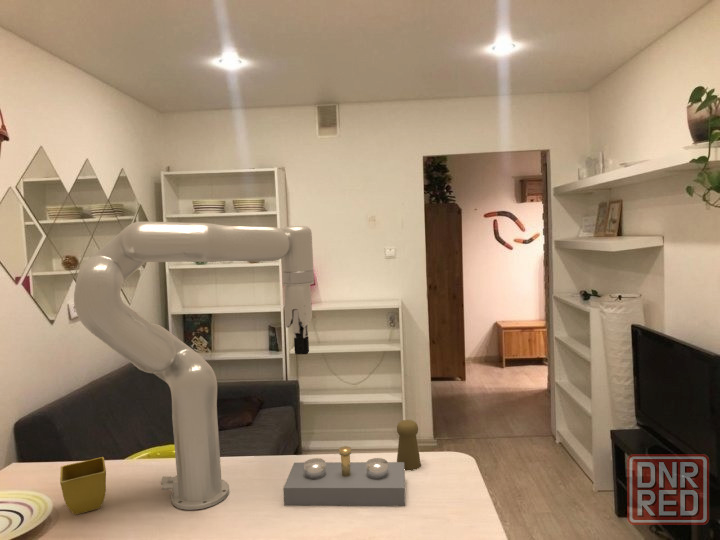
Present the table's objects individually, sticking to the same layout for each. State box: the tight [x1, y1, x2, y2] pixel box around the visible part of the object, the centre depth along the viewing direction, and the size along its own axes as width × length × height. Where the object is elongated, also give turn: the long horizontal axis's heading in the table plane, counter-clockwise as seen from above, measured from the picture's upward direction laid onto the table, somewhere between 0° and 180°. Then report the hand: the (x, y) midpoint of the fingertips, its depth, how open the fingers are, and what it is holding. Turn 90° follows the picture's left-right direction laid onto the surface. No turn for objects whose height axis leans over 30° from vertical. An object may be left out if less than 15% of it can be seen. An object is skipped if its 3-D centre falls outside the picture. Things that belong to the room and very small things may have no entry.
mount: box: [283, 461, 406, 507], centre depth 123 cm, size 26×12×4 cm, turn 86°
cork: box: [396, 419, 422, 471], centre depth 134 cm, size 6×6×11 cm
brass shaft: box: [338, 445, 352, 477], centre depth 122 cm, size 3×3×6 cm
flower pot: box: [59, 456, 107, 516], centre depth 120 cm, size 9×9×9 cm
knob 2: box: [366, 457, 389, 479], centre depth 122 cm, size 5×5×6 cm
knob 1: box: [304, 457, 326, 479], centre depth 123 cm, size 5×5×6 cm
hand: (302, 353), depth 132 cm, fingers closed
